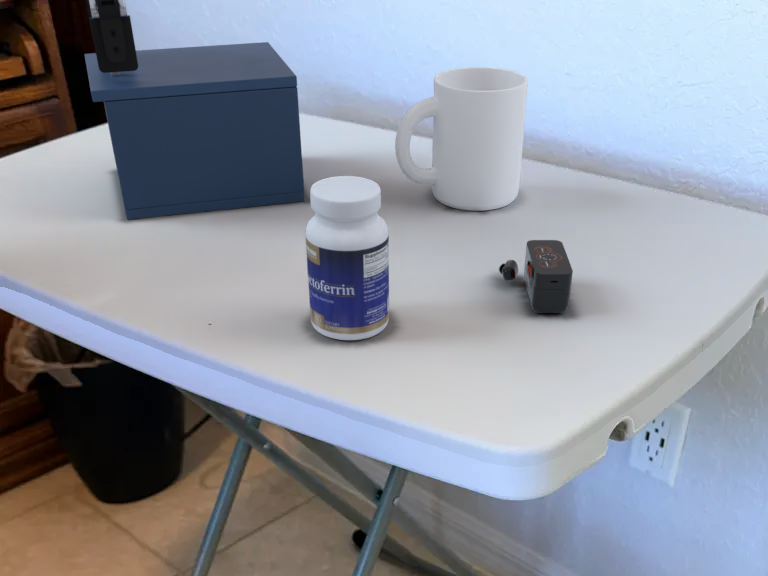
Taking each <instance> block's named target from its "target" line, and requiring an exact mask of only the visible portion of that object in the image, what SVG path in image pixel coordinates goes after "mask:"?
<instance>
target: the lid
mask: <svg viewBox="0 0 768 576" xmlns="http://www.w3.org/2000/svg"><path fill="white" fill-rule="evenodd" d="M97 9H98V8H97ZM98 15H99V13H98ZM136 55H137V61H138V69H137V70H135V71H124V72H110V73H103V72H101V71H100V70H99V67H98V61H97V56H96V52H92V53H84V59H85V60H84V61H85V64H86V65H85V66H86V72H87V76H88V82H89V88H90V95H91V99H92V102H93V103H100V102H104V101H114V100H127V99H140V98H153V97H166V96H179V95H192V94H205V93H218V92H232V91H245V90H258V89H271V88H284V87H297V88H298V78H297V75H296V73H295V72H294V71H293V70H292V69H291V67H290V66H288V64H287V63H286V62H285V61H284V59H283V58H282V57H281V56H280V55H279V54H278V52H277V51H276V49H274V47H273V46H272V45H271V44H270V42H268V41H263V42H250V43H248V42H247V43H246V42H245V43H234V44H233V43H231V44H217V45H202V46H186V47H170V48H157V49H156V48H155V49H141V50H140V49H138V50H136Z"/></svg>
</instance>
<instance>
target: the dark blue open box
mask: <svg viewBox="0 0 768 576" xmlns="http://www.w3.org/2000/svg"><path fill="white" fill-rule="evenodd" d="M103 106H104V110H105V115H106V120H107V127H108V131H109V136H110V141H111V147H112V152H113V158H114V162H115V167H116V172H117V173H116V174H117V178H118V183H119V188H120V192H121V197H122V203H123V207H124V212H125V217H126V220H128V221H129V220H137V219H146V218H156V217H167V216H175V215H183V214H184V215H186V214H194V213H195V214H196V213H203V212H204V213H205V212H213V211H223V210H231V209H232V210H233V209H241V208H251V207H261V206H269V205H271V206H272V205H279V204H280V205H281V204H289V203H298V202H305V198H306V197H305V184H304V168H303V166H304V165H303V153H302V138H301V123H300V122H301V121H300V107H299V93H298V86H297V87H284V88H271V89H258V90H245V91H232V92H218V93H205V94H192V95H179V96H166V97H153V98H140V99H127V100H114V101H103Z"/></svg>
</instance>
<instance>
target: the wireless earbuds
mask: <svg viewBox="0 0 768 576" xmlns="http://www.w3.org/2000/svg"><path fill="white" fill-rule="evenodd" d="M524 258H525V259H524V267H523V268H524V271H523V280H524V283H525V288H526V291H527V295H528V298H529V299H528V300H529V302H530V305H531V306H530V307H531V309H532V310H533V311H534V312H535V313H536V314H562V313H565V312H567V310H568V309H569V305H570V297H571V289H572V283H573V273H574V271H573V268H572V265H571V262H570V259H569V256H568V254H567V251H566V248H565V245H564V244H563V241H560V240H556V239H532V240H531V239H530V240H528V241H526V246H525V257H524ZM498 272H499V273H500V274H501V276H502V279H503V280H504V281H506V282H511V281H514V280H515V279H516V278H517V276H518V274H519V265H518V262H516V260H514V259H508V260H507V261H506V262H505V263H501V265H500V266H499V267H498Z"/></svg>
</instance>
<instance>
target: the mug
mask: <svg viewBox="0 0 768 576" xmlns="http://www.w3.org/2000/svg"><path fill="white" fill-rule="evenodd" d="M528 87H529V80H528V78H527V76H526V75H524V74H522V73H520V72H518V71H514V70H510V69H506V68H500V67H488V66H466V67H457V68H452V69H451V68H450V69H446V70H444V71H443V70H442V71H440V72H438V73H436V74H435V75H434V77H433V96H430V97H427V98H424V99H422V100H419V101H418V102H416V103H414V104H413V105H412V106H411V107H410V108H408V110H407V111H406V112H405V113H404V115H403V116H402V118H401V120H400V122H399V124H398V126H397V130H396V133H395V141H394V142H395V143H394V149H395V155H396V162H397V164H398V166H399V169H400V170H401V172H402V174H403V175H405V177H406V178H408V179H409V180H410V181H412V182H414V183H416V184H419V185H426V186H427V185H428V186H429V185H431V190H432V191H431V192H432V194H433V196H434V198H435V199H436V200H437V201H438V202H439V203H441V204H442V205H444V206H447V207H450V208H453V209H457V210H462V211H475V212H476V211H477V212H480V211H492V210H498V209H500V208H501V209H502V208H504V207H506V206H508V205H510V204H512V202H514V201H515V200H516V198H517V196H518V194H519V189H520V184H521V173H522V161H523V148H524V134H525V122H526V112H527V111H526V110H527V98H528ZM428 118H432V137H431V138H432V141H431V142H432V143H431V144H432V145H431V167H426V168H425V167H420V166H417V164H416V163H415V162H414V160H413V159H412V155H411V154H412V153H411V139H412V135H413V133H414V131H415V128H416V127H417V126H418V124H419V123H420V122H422V121H423V120H425V119H428Z"/></svg>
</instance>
